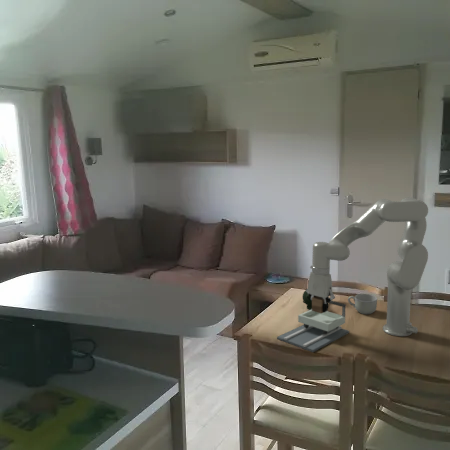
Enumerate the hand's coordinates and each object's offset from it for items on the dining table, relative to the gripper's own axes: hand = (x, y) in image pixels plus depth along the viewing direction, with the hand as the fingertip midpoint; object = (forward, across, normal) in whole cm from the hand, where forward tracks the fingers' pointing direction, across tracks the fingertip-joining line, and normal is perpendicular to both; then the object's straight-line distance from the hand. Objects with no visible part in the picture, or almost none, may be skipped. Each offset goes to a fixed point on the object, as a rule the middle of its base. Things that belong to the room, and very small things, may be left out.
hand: (319, 309), depth 211 cm
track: (+11, 0, -5) cm, 12 cm away
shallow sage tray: (+9, 0, +1) cm, 9 cm away
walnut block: (+1, 0, 0) cm, 1 cm away
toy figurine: (+11, -22, +27) cm, 37 cm away
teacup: (+11, 0, +36) cm, 38 cm away
